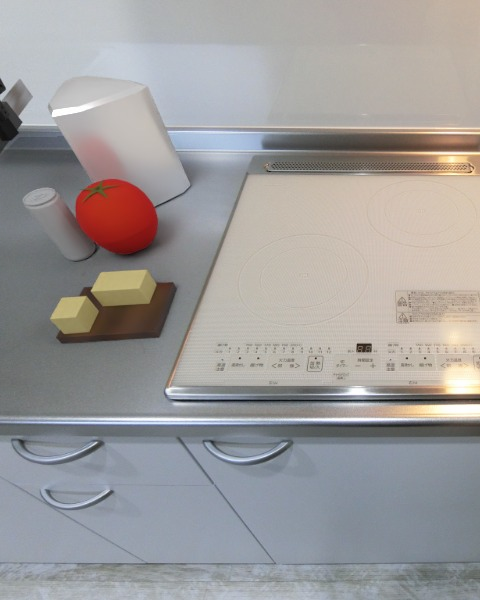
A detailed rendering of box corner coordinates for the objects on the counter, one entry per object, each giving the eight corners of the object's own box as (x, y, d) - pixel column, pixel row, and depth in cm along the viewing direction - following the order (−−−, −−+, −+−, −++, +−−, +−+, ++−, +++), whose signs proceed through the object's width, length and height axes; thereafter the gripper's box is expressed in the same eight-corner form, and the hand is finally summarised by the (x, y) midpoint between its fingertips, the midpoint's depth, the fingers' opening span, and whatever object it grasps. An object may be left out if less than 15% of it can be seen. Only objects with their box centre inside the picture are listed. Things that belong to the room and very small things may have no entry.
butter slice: (64, 334, 63) (49, 319, 60) (75, 312, 66) (61, 297, 63) (89, 332, 63) (75, 317, 61) (99, 311, 66) (86, 295, 63)
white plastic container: (193, 184, 90) (146, 73, 74) (151, 227, 81) (87, 111, 65) (130, 174, 93) (71, 65, 76) (83, 215, 84) (4, 100, 67)
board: (61, 343, 64) (55, 337, 63) (88, 293, 70) (83, 286, 69) (159, 337, 64) (154, 331, 63) (177, 288, 71) (173, 281, 70)
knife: (0, 153, 73) (-19, 132, 70) (-16, 154, 73) (-35, 133, 70) (40, 97, 83) (25, 77, 80) (26, 98, 83) (11, 77, 80)
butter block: (102, 306, 66) (90, 291, 64) (112, 287, 69) (100, 271, 66) (149, 303, 67) (139, 288, 64) (157, 284, 69) (147, 269, 67)
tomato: (146, 219, 83) (112, 158, 73) (181, 240, 79) (150, 179, 69) (89, 252, 77) (44, 190, 67) (124, 277, 73) (81, 215, 63)
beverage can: (62, 253, 77) (17, 195, 68) (91, 240, 79) (50, 183, 70) (72, 266, 74) (26, 209, 65) (101, 253, 77) (60, 195, 68)
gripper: (-205, -19, 55) (-57, 150, 73) (-77, -23, 56) (39, 146, 74) (-159, -34, 60) (-31, 128, 78) (-42, -37, 61) (59, 124, 79)
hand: (3, 137), depth 76 cm, fingers closed on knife, 3 cm apart
